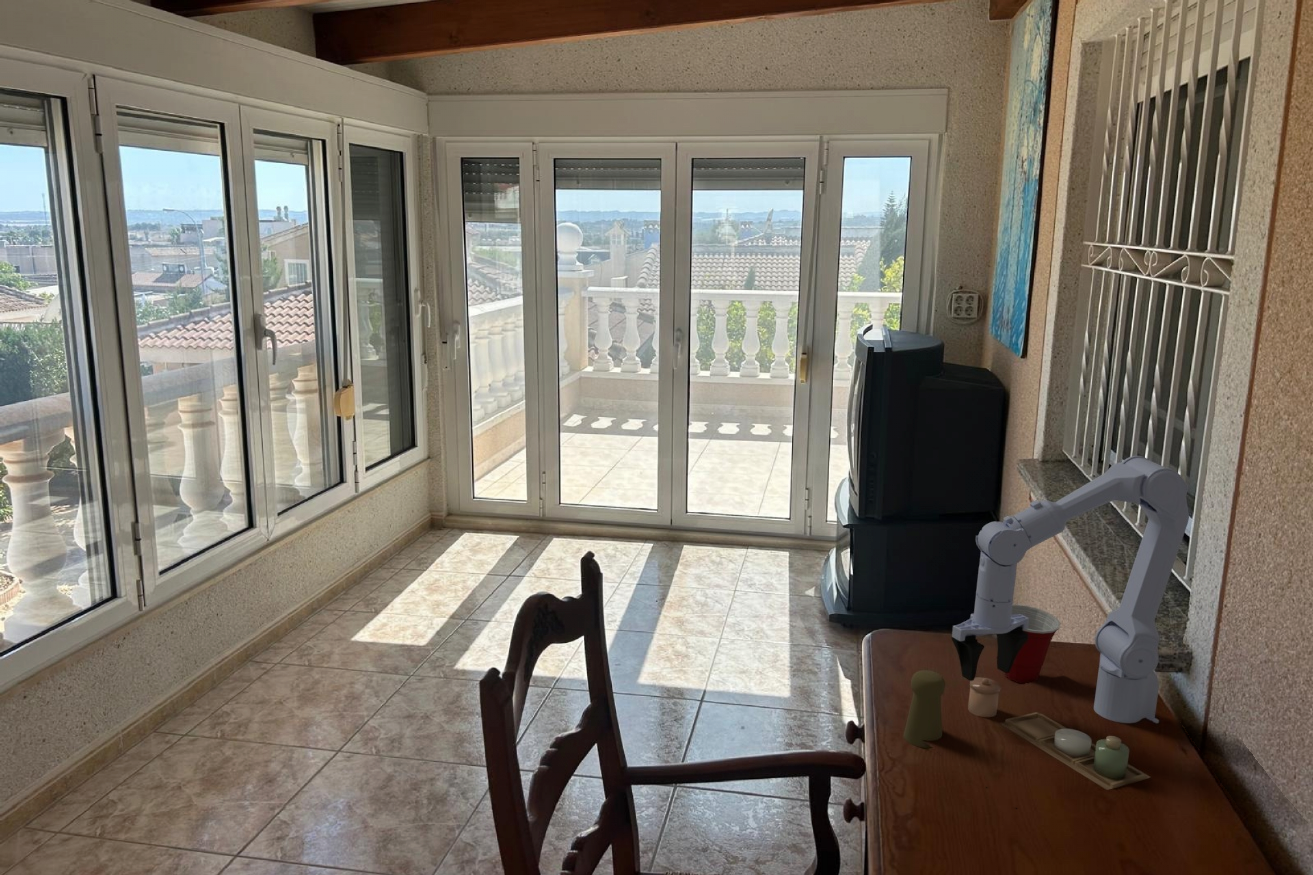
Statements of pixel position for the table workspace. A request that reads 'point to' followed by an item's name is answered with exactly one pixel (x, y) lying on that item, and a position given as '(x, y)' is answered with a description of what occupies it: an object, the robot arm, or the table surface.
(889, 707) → the table surface
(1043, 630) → the plastic cup
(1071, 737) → the white rounded disc
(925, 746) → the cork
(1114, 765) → the green jar
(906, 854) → the table surface
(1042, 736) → the tray
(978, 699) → the spice jar
